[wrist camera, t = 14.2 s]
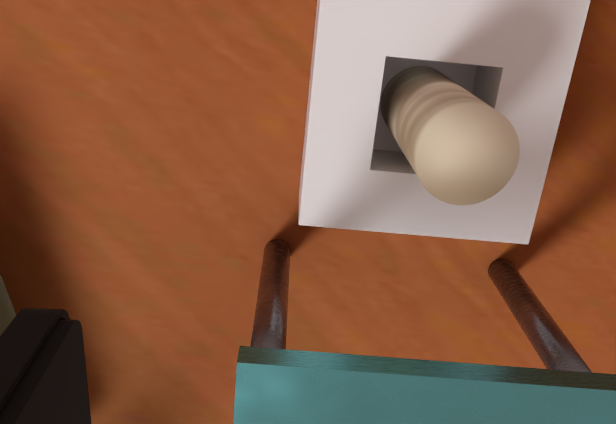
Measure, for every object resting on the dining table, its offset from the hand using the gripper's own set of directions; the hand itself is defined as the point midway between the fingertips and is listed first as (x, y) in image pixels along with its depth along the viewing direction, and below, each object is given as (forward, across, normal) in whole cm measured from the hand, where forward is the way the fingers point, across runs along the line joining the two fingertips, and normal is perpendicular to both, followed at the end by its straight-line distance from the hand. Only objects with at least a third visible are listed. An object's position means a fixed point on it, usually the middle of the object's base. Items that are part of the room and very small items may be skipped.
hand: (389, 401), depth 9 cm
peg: (+24, -6, +1) cm, 25 cm away
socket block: (+25, -6, +1) cm, 26 cm away
